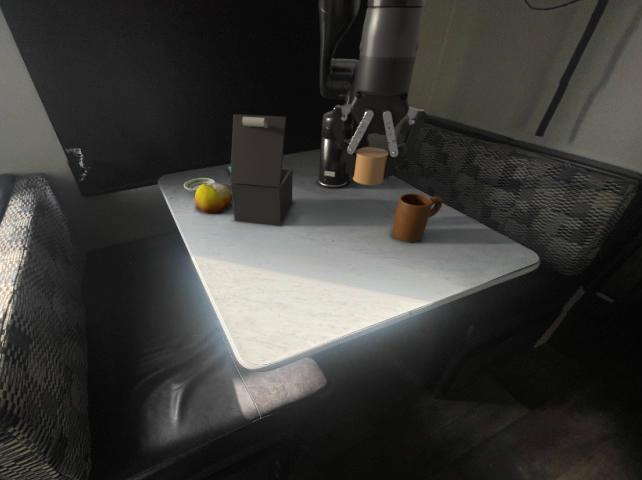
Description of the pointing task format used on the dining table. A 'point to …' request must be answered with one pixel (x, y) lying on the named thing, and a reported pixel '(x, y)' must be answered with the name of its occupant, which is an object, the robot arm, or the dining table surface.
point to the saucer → (196, 183)
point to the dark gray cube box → (263, 201)
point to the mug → (413, 216)
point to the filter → (370, 166)
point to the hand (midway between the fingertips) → (368, 176)
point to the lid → (257, 150)
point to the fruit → (212, 198)
